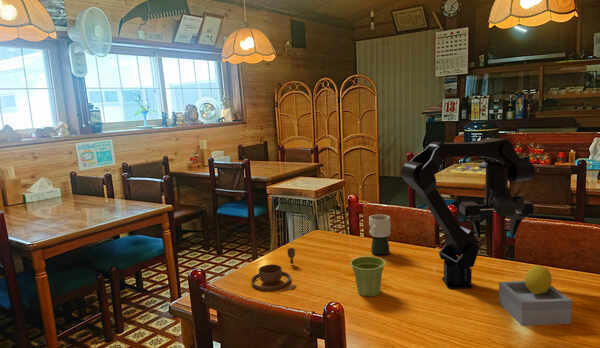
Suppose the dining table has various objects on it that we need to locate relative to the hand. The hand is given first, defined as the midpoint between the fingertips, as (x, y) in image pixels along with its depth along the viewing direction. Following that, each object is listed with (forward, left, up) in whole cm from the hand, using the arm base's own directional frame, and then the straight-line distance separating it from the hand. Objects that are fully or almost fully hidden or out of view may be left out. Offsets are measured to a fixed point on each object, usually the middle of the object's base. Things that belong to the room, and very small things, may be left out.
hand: (495, 237), depth 116 cm
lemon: (+1, -21, -7) cm, 22 cm away
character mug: (-30, +22, -12) cm, 39 cm away
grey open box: (+1, -21, -12) cm, 24 cm away
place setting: (-62, +3, -13) cm, 64 cm away
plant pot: (-37, -8, -12) cm, 40 cm away
